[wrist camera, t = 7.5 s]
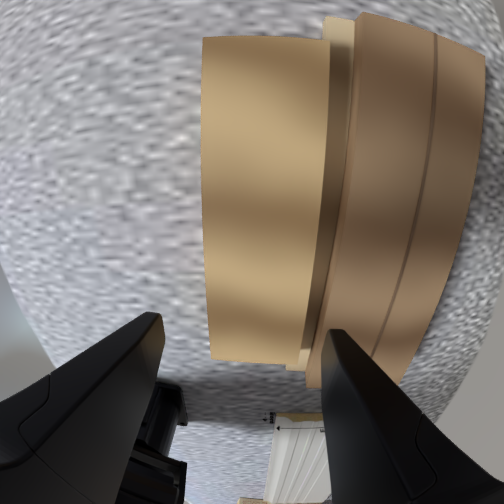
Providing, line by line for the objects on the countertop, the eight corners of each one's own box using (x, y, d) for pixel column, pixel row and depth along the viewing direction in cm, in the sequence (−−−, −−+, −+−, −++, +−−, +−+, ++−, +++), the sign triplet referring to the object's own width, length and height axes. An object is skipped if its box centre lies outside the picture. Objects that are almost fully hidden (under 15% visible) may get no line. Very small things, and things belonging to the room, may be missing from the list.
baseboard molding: (255, 495, 39) (323, 495, 38) (253, 509, 36) (323, 508, 36) (260, 407, 25) (382, 403, 25) (259, 432, 23) (388, 426, 22)
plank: (295, 336, 21) (297, 364, 18) (218, 331, 21) (211, 359, 18) (320, 52, 13) (329, 40, 10) (214, 49, 13) (202, 37, 10)
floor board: (388, 360, 21) (397, 386, 18) (285, 358, 21) (285, 387, 19) (458, 60, 11) (485, 55, 9) (322, 22, 12) (332, 5, 9)
